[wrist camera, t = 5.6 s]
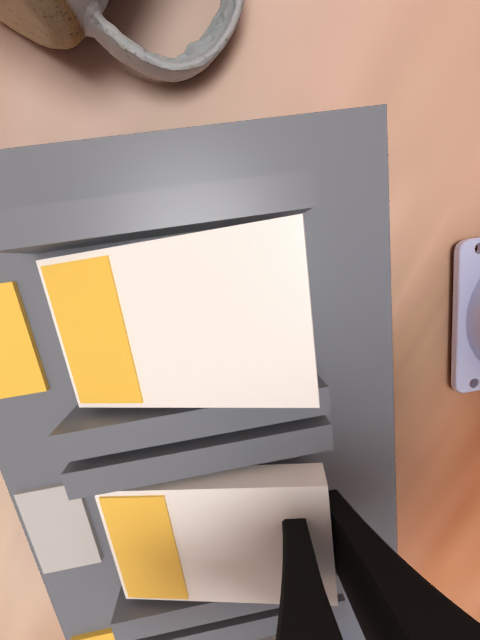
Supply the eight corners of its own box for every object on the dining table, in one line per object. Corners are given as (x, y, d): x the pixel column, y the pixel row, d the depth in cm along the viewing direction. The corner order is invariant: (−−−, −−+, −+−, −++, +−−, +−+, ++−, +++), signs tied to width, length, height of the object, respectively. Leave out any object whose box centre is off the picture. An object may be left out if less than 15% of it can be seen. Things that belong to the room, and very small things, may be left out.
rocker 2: (322, 463, 10) (328, 488, 9) (332, 574, 11) (338, 609, 10) (109, 470, 11) (91, 493, 10) (137, 570, 12) (124, 601, 11)
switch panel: (345, 140, 12) (431, 63, 8) (370, 610, 19) (426, 735, 14) (-34, 187, 11) (-216, 134, 7) (125, 667, 18) (91, 822, 13)
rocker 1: (303, 217, 7) (302, 213, 6) (318, 390, 9) (319, 409, 8) (62, 258, 10) (33, 260, 9) (99, 393, 11) (77, 408, 10)
